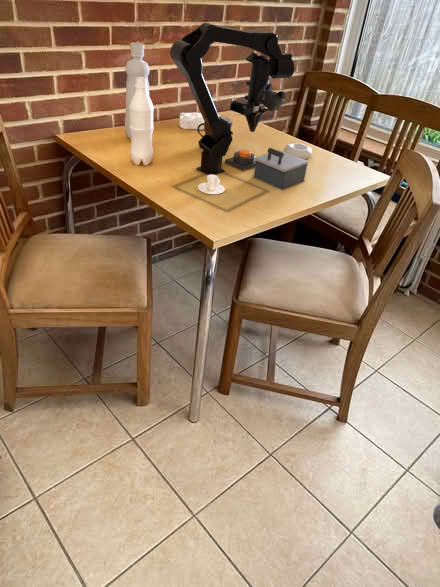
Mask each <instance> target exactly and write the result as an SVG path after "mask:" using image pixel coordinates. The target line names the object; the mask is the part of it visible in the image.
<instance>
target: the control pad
mask: <svg viewBox="0 0 440 587" xmlns="http://www.w3.org/2000/svg"><path fill="white" fill-rule="evenodd" d="M255 157H256V155H255V154H254V153H252V152H251V157H249V158H244V157H240V156H239V150H238V151H235V152H234V154H233V156H232V157H229V158H226V159H224V163H225V164H226V165H228V166H231V167H233V168H236V169H237V170H240V171H241V172H243V171H246V170H250V169H252V168H255V164H256V160H255Z"/></svg>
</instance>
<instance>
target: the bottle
mask: <svg viewBox="0 0 440 587" xmlns="http://www.w3.org/2000/svg"><path fill="white" fill-rule="evenodd" d="M145 47H146V46H145V43H142V42H130V43H129V48H130V54H129V55H130V56H131V57H132V59H129V60H128V61H126V65H125V66H124V70H125V73H126V75H127V77H126V82H125V84H126V85H125V117H124V135H125V136H126V137H127V138H128V139H130V140H131V131H130V109H129V106H130V102H131V100H132V98H133V96H134V94H135V91H136V87H135V85H136V77H145V78H147V86H148V88H147V92H148V95H149V96H150V82H149V75H150V71H151V69H150V66H149V63H148V62H146V60H145V61H144V60H143V58H144V57H145Z"/></svg>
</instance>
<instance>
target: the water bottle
mask: <svg viewBox="0 0 440 587" xmlns="http://www.w3.org/2000/svg"><path fill="white" fill-rule="evenodd" d="M135 87H136V91H135V94H134V96H133V98H132V100H131V102H130V106H129V109H130V131H131V139H130V141H131V144H130V148H129V154H130V159H131V162H133V164H135V165H136V166H140V165H141V163H142V164H143V165H144V166H148V165H150V164H151V163H152V161H153V158H154V148H153V147H154V146H153V133H154V130H155V128H154V112H155V109H154V104H153V101H152V99H151V97H150V94H149V95H148V92H147V88H148V86H147V78H145V77H136V85H135Z"/></svg>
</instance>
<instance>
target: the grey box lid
mask: <svg viewBox="0 0 440 587" xmlns="http://www.w3.org/2000/svg"><path fill="white" fill-rule="evenodd" d="M255 160H257V161H259V162H261V163H264V164H266V165H269V166H271V167H273V168H276V169H278V170H280V171H283V172H287V171H289V170H292V169H294V168H297V167H300V166H302V165H305V164H309V160H307V159H301V158H299V157H296V156H294V155H291V154H289V153H286V152H285V151H284V150H281V149H274V148H272V147H269V148H268V149H267V153H264V154H260V155H257V156H255Z"/></svg>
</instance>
